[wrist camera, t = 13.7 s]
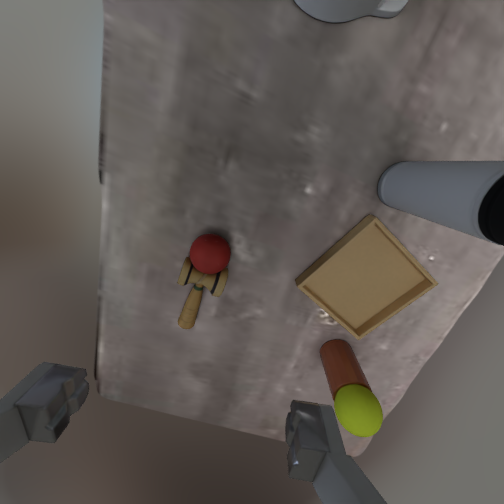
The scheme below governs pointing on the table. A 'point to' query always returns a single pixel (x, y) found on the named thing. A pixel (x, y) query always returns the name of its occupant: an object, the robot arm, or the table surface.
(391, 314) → the tray
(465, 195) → the travel mug
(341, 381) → the cup
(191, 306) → the kendama
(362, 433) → the tennis ball
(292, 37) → the table surface
